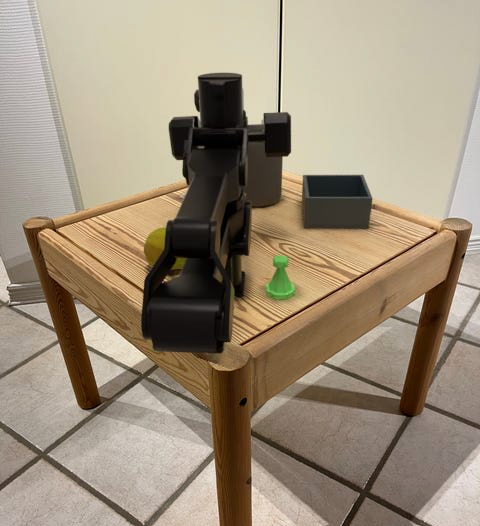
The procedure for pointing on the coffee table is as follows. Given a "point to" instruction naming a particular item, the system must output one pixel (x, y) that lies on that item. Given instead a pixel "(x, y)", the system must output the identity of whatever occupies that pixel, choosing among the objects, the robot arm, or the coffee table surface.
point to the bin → (336, 201)
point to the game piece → (280, 280)
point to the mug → (262, 176)
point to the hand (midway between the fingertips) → (235, 123)
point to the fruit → (158, 248)
